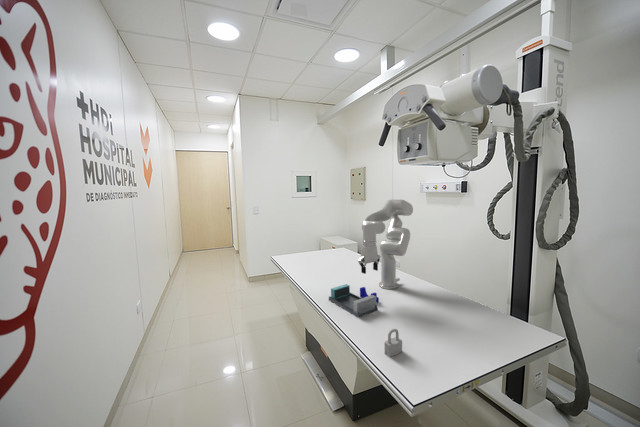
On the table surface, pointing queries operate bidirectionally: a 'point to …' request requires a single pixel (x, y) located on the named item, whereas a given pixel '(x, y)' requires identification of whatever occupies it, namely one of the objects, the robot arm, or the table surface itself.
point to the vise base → (356, 304)
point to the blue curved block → (364, 294)
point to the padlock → (393, 344)
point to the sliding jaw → (340, 291)
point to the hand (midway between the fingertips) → (369, 271)
